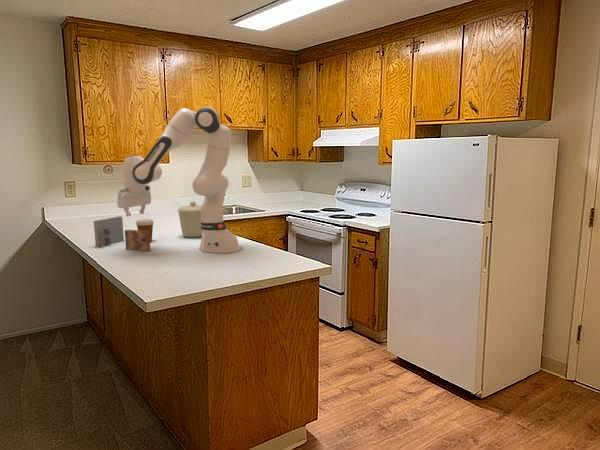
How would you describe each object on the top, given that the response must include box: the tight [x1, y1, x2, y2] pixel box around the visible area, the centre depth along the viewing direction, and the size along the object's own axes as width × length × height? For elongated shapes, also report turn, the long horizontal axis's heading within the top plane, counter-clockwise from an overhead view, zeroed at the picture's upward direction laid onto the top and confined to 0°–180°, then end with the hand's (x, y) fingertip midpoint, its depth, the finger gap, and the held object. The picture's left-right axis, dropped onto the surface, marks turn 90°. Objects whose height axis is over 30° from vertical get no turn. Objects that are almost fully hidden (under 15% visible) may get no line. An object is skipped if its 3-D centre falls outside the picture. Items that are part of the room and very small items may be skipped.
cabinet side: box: [93, 215, 125, 248], centre depth 246 cm, size 5×18×14 cm, turn 157°
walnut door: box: [124, 229, 151, 252], centre depth 231 cm, size 14×4×10 cm, turn 67°
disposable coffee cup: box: [135, 218, 155, 243], centre depth 252 cm, size 10×10×12 cm
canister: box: [177, 200, 202, 239], centre depth 266 cm, size 18×18×21 cm
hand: (135, 215), depth 229 cm, fingers open, 8 cm apart
